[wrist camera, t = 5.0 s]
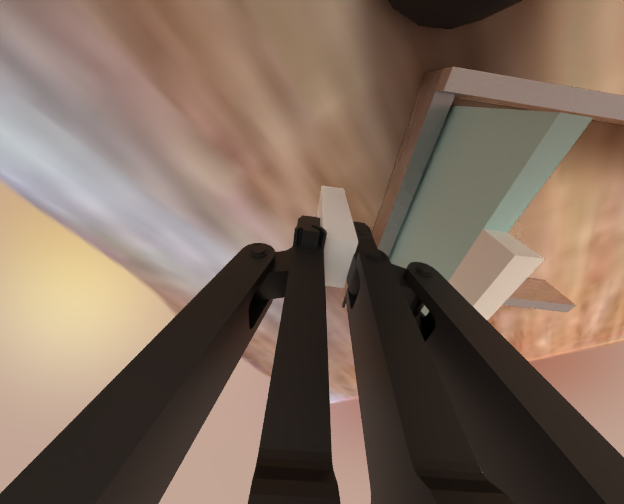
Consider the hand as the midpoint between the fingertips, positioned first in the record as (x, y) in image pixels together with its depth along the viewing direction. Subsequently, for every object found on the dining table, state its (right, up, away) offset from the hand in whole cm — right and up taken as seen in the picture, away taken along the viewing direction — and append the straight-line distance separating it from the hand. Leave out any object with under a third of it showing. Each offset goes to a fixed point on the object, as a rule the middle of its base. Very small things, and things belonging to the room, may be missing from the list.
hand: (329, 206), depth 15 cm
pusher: (+7, +1, +3) cm, 8 cm away
